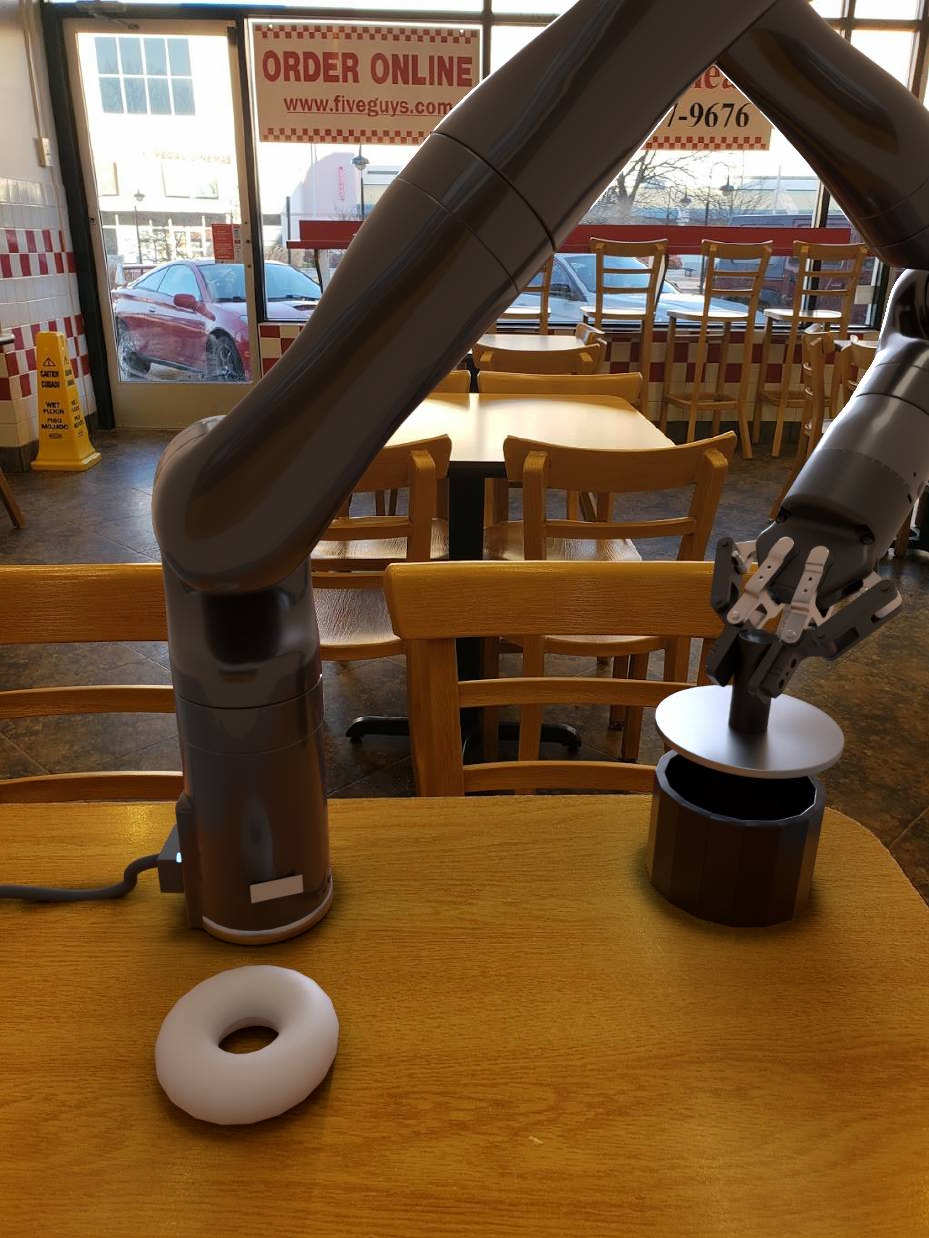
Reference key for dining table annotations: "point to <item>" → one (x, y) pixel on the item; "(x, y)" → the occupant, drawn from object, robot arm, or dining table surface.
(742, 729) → the lid
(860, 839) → the dining table surface
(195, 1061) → the donut
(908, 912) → the dining table surface
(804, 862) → the pot
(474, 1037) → the dining table surface
